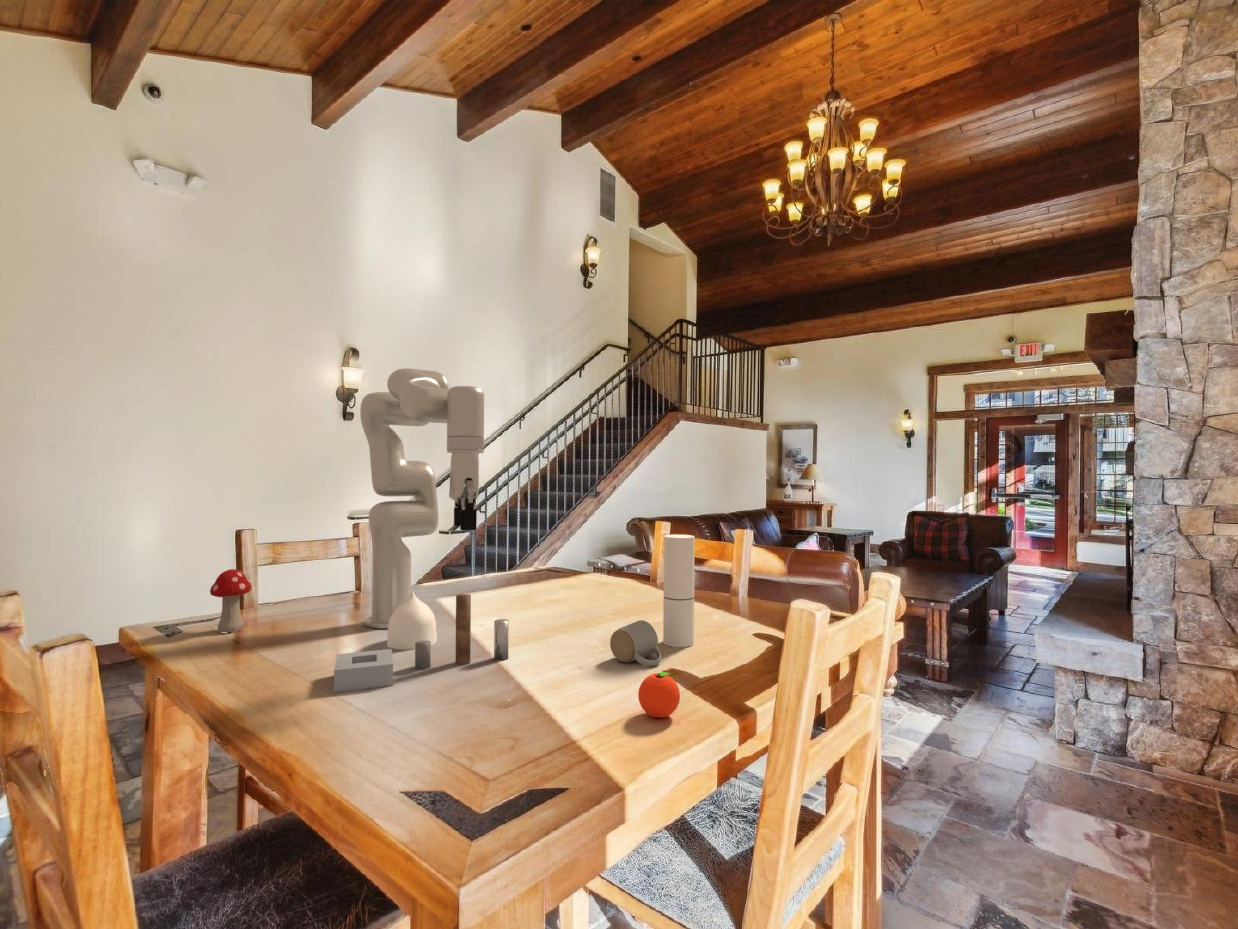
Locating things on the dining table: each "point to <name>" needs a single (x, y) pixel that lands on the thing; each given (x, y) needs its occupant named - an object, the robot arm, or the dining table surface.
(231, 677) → the dining table surface
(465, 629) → the long pin
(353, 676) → the hole block
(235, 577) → the decorative mushroom
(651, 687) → the clementine
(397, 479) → the robot arm
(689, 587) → the cylindrical container
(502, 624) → the medium pin
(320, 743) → the dining table surface
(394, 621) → the teardrop
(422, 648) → the short pin
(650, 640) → the ceramic mug
